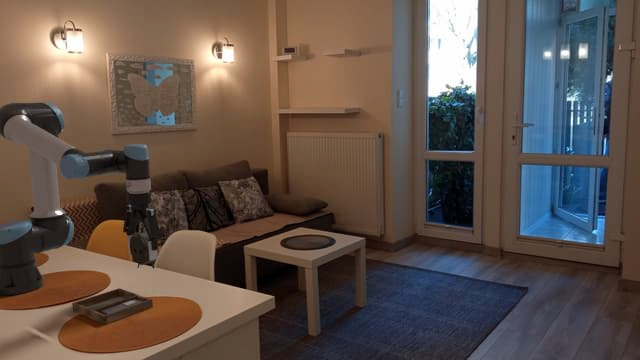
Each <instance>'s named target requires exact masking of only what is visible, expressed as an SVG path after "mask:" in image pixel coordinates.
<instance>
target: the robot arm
mask: <svg viewBox="0 0 640 360" xmlns="http://www.w3.org/2000/svg"><path fill="white" fill-rule="evenodd" d="M65 126H66V121H65V117H64V114H63V112H62V111H61V109H59V108H58V106H57V105H55V104H53V103H49V102H41V101H40V102H10V103H5V104H4V105H3V106H1V107H0V136H1V137H2V138H4V139H6V140H7V141H10V142H11V143H19V144H21V145H22V146H24V147H25V148H27V150H28V158H29V159H28V160H29V170H30V179H31V190H32V200H33V212H31V214H30V215H29V218H30V220H29V219H17V220H11V221H9V222H4V223H2V224H0V296H13V295H20V294H24V293H29V292H32V291H35V290H38V289H39V288H41V287H43V286H44V277H43V275H42V273H41V271H40V269H39V267H38V265H37V262H36V255H37V254H40V253H44V252H48V251H50V250H51V251H52V250H57V249H59V248H61V247H64V246H66V245H68V244H69V243H70V242H71V241H72V239H73V237H74V234H75V227H74V226H75V225H74V223H73V221H72V219H71V217H70V216H68V215H66V211H65V210H63V209H62V208H61V201H60V199H61V198H60V190H59V189H60V187H59V177H58V167H59V170H60V172H61V173H62V174H63V177H65V178H66V179H69V180H74V179H77V180H79V179H84V178H90V177H95V176H101V175H102V176H103V175H108V174H115V173H117V174H120V173H121V174H125V182H126V183H125V186H126V191H127V193H126V199H127V200H126V202H127V204H128V205H125V207H124V208H125V212H124V213H125V214H124V223H123V230H122V232H123V233H125V234H126V235H127V244H128V254H129V255H132V254H131V251H130V239H131V237H132V235H133V234H135V233H137V232H136V230H137V227H138V222H139V220H140V222H139V223H141V224H143V227H144V231H146V232H147V234H148V237H149V240H148V247H149V260H150V261H151V260H155V259H156V260H157V259H159V251H158V252H157V249H158V250H159V248H158V247H157V246H158V240H160V239H162V234H161V229H160V226H159V223H158V219H157V210H156V208H152V209H151V208H150V205H149V204H151V203H152V202H153V201H152V199H153V198H152V192H151V190H152V185H151V173H150V172H151V171H150V154H149V147H148V146H147V145H146V144H141V143H140V144H138V143H135V144H133V143H132V144H125V145H124V146H123V150H119V149H117V150H116V149H101V150H100V151H92V152H85V151H83V150H80V149H79V148H76V147H75V146H73V145H72V144H69V143H68V142H66V141H64V140H62V139H60V138H59V135H60V134H62V133H63V131H64V129H65Z"/></svg>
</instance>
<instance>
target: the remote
mask: <svg viewBox="0 0 640 360" xmlns="http://www.w3.org/2000/svg"><path fill="white" fill-rule="evenodd" d="M138 303H141V301H138V300H135V299H134V300H131V301H128V302H125V303H122V304H119V305H117V306H114V307H111V308H108V309H105V310H102V311H101V313H102V314H104V315H106V314H109V313H112V312H115V311H118V310H121V309H123V308H126V307H129V306H132V305H135V304H138Z"/></svg>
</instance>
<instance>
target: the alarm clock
mask: <svg viewBox="0 0 640 360" xmlns="http://www.w3.org/2000/svg"><path fill="white" fill-rule="evenodd" d="M140 223H141V221H140V220H139V222H138V224H137V227H139V229H140V231H138V232H135V234H133V235H132V237H131V239H130V251H131V255H132V258H133V260H134V261H135V262H136V263H137V266H136V267H137V269H139V267H140V265H142V266H146V265H149V264H150V266H151V267H152V269H155V266H154V262H156V260H157V259H155V260H151V261H150V260H149V247H148V240H149V237H148V234H147V232H146V230H145V227H144V226H143V227H141V226H140ZM157 247H158V245H157ZM157 252H158V253H159V248H158V249H157Z"/></svg>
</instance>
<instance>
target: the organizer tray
mask: <svg viewBox="0 0 640 360" xmlns="http://www.w3.org/2000/svg"><path fill="white" fill-rule="evenodd" d="M134 299H135V300H138V301H141V303H138V304H135V305H132V306H129V307H126V308H123V309H121V310H118V311H115V312H112V313H109V314H106V315H104V314H102V313H101V311H102V310H105V309H108V308H111V307H114V306H117V305H119V304H122V303H125V302H128V301H131V300H134ZM71 306H72V311H73V312H74V313H77V314H79V315H81V316H84V317H87V318H89V319H91V320H93V321H95V322H97V323H100V324H103V325H108V324H110V323H114V322H115V321H116V322H117V321H118V320H121V319H125V318H126V317H130V316H133V315H135V314H138V313H141V312H143V311H146V310H149V309H152V308H154V304H153V299H152V298H149V297H145V296H143V295H140V294H137V293H135V292H131V291H128V290H126V289H122V288H121V287H119V288H116V289H113V290H109V291H105V292H103V293H100V294H97V295H94V296H91V297H87V298H83V299H81V300H77V301H75V302H72V303H71Z"/></svg>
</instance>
